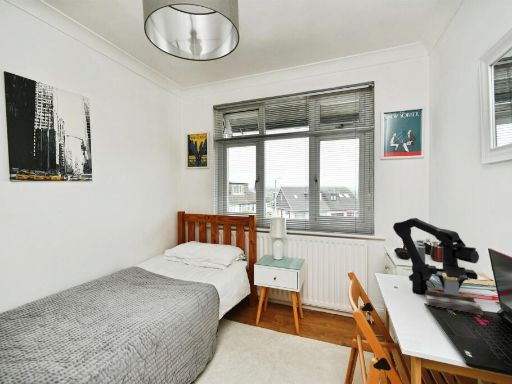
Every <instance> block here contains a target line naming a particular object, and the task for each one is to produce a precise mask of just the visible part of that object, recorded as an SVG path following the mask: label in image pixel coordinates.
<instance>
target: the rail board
mask: <svg viewBox="0 0 512 384" xmlns="http://www.w3.org/2000/svg"><path fill="white" fill-rule="evenodd" d="M424 298H425V301H426V306H427V307H429V306H428V305H431V306H430V307H432V306H436V307H435V308H438V307H442V308H441V309H443V308H448V309H447V310H449V309H453V310H452V311H455V310H459V311H458V312H460V311H465V312H464V313H466V312H470V313H469V314H472V313H474V315H478V314H480V315H479V316H484V312H483V310H482V307H480V306H479V304H478V303H477V302H476V301H475V297H473V296H467V295H463V294H462V295H460V294H459V295H452V294H446V293H445V292H440V291H433V290H429V289H428V290H426V293H425V295H424Z"/></svg>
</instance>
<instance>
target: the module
mask: <svg viewBox="0 0 512 384" xmlns="http://www.w3.org/2000/svg"><path fill="white" fill-rule="evenodd" d="M443 281H444V289H443V291H444V293H446V294H452V295H460V289H459V282H458V281H457V278H453V277H447V276H446V275H443Z"/></svg>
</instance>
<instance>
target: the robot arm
mask: <svg viewBox="0 0 512 384" xmlns="http://www.w3.org/2000/svg"><path fill="white" fill-rule="evenodd" d="M412 228H417V229H418V230H421V231H423V232H426V233H427V234H430V235H432V236H433V237H435V239H436V240H437V241H439V242H440V243H439V244H437V247H439V248H441V251H442V256H441V257H442V259H441V261H442V268H437V266H436V265H430V264H429V263H426V262H425V263H424V262H423V261H422V259H421V257H420V255H419V253H418V251H417V248H416V246H415V244H414V240H413V238H412ZM392 229H393V230H394V232H395V234H396V235H397V236H398V237H399V238H400V239H401V241H402V242H403V243H402V244H403V245H404V248H405V250H406V252H407V255H408V257H409V259H410V261H411V263H412V265H411V266H412V267H411V270H412V271H411V272H412V273H411V274H410V275H408V279H409V281H411V282H412V283H411V284H412V287H411V289H412V294H418V295H423V296H425V293H426V290H428V291H429V284H428V283H427V282H429V281H430V278H432V276H433V275H434V276H435V277H437V278H438V279H439V280H440V281H439V282H440V283H441V287H442V288H443V290H444V281H443V276H444V275H443V274H445V276H446V277H453V278H456V279H457V281H458V282H459V290H460V289H461V286H462V284H463V283H464V282H465V281H469V280H478V279H479V277H478V273H476V271H475V270H474V269H467V268H466V267H461V266H459V263H458V262H459V261H463V262H466V263H471V264H477V263H478V261H479V260H480V254H479V252H478V251H477V248H476V247H470V246H467V245H466V244H465V242H464V241H463V240H462V239H461V238H460V237H461V236H460V235H459V233H458V232H457V231H455V230H450V229H447V228H445V229H444V228H440V227H437V226H435V225H433V224H430V223H428V222H425V221H423V220H421V219H419V218H417V217H414V218H412V217H411V218H408V219H406V220H404V221H399V222H394V224H393V226H392ZM458 260H459V261H458Z"/></svg>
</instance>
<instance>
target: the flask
mask: <svg viewBox="0 0 512 384" xmlns="http://www.w3.org/2000/svg"><path fill="white" fill-rule="evenodd" d="M413 242H414V244H415V246H416V248H417V251H418V253H419V255H420V257H421V259H422V261H423V262H424V263H425V264H426V245H425V244H424V240H423V239H416V240H413Z"/></svg>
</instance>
